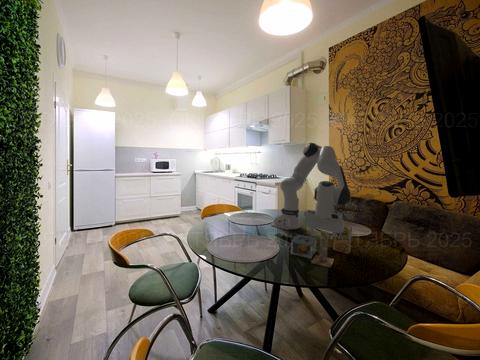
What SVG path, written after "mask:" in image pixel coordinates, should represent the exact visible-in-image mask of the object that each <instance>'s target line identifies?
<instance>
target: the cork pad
mask: <svg viewBox="0 0 480 360" xmlns="http://www.w3.org/2000/svg"><path fill="white" fill-rule="evenodd" d="M319 256H320V255H318V254H314V256H313V257H312V259H311V262H310V263H311V264H313V265H317V266H321V267H326V268H332V267H333V264H334V262H335V258H331V257H327V256H326V261H325V262H322V261H319Z"/></svg>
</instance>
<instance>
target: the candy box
mask: <svg viewBox="0 0 480 360" xmlns="http://www.w3.org/2000/svg"><path fill="white" fill-rule="evenodd" d="M352 231H353V227H351V226H347V225H344V231H343V232H342V233H336V234H335V235H334V236H333V245H332V246H333V247H332V250H333V251H336V252H340V253H343V254H346V255H349V253H351V248H352V247H351V246H352V234H353V233H352Z"/></svg>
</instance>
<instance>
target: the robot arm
mask: <svg viewBox="0 0 480 360" xmlns="http://www.w3.org/2000/svg"><path fill="white" fill-rule="evenodd" d="M302 153H303V156H302V157H301V158H300V160H299V161H298V162H297V164H296V166H295V167H294V169H293V173H292V175H291V176H290V177H288V178H285V179H284V180H282V181H281V183H280V185H279V187H280V190H281V191H282V194H283V199H284V200H283V201H284V202H283V203H284V204H283V208H281V209H280V213H279V214H278V215H275V217H274V220H273V221H272V222H270V226H272V227H275V228H279V229H283V230H287V231H288V230H296V229H299V228H301V227H300V217H299V216H300V211H299V210H300V209H299V203H300V200H299V198H298V194H297V193H298V192H297V191H299V190H301V189H302V188H303V186H304V183H305V181H306V179H307V177H308V176H309V175H310V174H311V172H312V170H313V169H314V168H315V166H316V167H317V169H318V171H319V172H320V173H322V175H325V176H329V177H332V178H334V179H336V181H337V184H338V186H335V184H334V182H332V181H327V180H324V181H320V182H318V185H317V187H315V188H314V189H313V190H314V196H313V199H314V200H315V201H316V204H315V210H312V209H311V210H310V209H307V210H306V209H305V211H304V214H303V216H304V219H303V227H306V228H307V227H308V228H309V231H310V232H311V237H315V236H316V232H315V231H314V229H317V230H321V231H327V232H330V233H331V232H332V235H329V240H331V241H334V235H335V234H336V233H342V232H343V231H344V226H345V224H344V218H343V213H342V212H341V211H338V210H336V209H334V208H335V207H334V205H338V206H339V205H340V206H345V205H347V204H348V203H350V201H351V198H352V197H351V191H350V189H349V186H348V182H347V179H346V176H345V171H344V169H343V167H342V166H341V165H339V164H338V162H337V156H336V155H337V154H336V151H335V149H334V147H332V146H329V145H325V146H321V145H319V144H316V143H314V142H309V143H307V144H306V145H305V146H304V148H303V151H302Z"/></svg>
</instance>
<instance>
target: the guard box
mask: <svg viewBox="0 0 480 360" xmlns="http://www.w3.org/2000/svg"><path fill="white" fill-rule="evenodd" d="M300 244H301V245H306V246H308V251H301V250H300ZM317 244H318V238H317V237H315V236H307V235H302V234H298V233H297V234H296V235H295V236H294V237H293V238H292V239H291V240H290V255H294V256H299V257H303V258H306V259H311V260H313V258H314V256H315V255H316V253H317V247H318V245H317Z"/></svg>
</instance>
